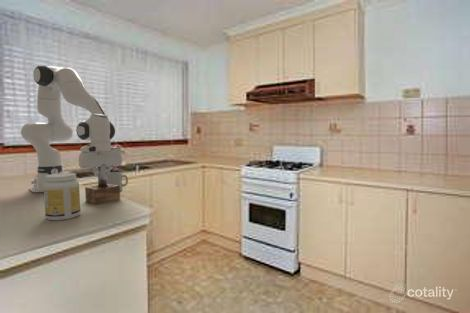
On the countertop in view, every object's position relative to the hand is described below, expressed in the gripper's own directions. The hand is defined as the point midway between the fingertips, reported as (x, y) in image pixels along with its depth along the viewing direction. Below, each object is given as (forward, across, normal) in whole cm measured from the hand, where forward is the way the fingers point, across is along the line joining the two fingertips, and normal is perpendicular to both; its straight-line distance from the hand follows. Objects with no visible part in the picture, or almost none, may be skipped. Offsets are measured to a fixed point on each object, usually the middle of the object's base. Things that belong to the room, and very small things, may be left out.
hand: (102, 175), depth 141 cm
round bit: (+5, 0, 0) cm, 5 cm away
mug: (+13, -16, -14) cm, 25 cm away
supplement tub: (+13, +24, +13) cm, 30 cm away
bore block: (+12, 0, 0) cm, 12 cm away
